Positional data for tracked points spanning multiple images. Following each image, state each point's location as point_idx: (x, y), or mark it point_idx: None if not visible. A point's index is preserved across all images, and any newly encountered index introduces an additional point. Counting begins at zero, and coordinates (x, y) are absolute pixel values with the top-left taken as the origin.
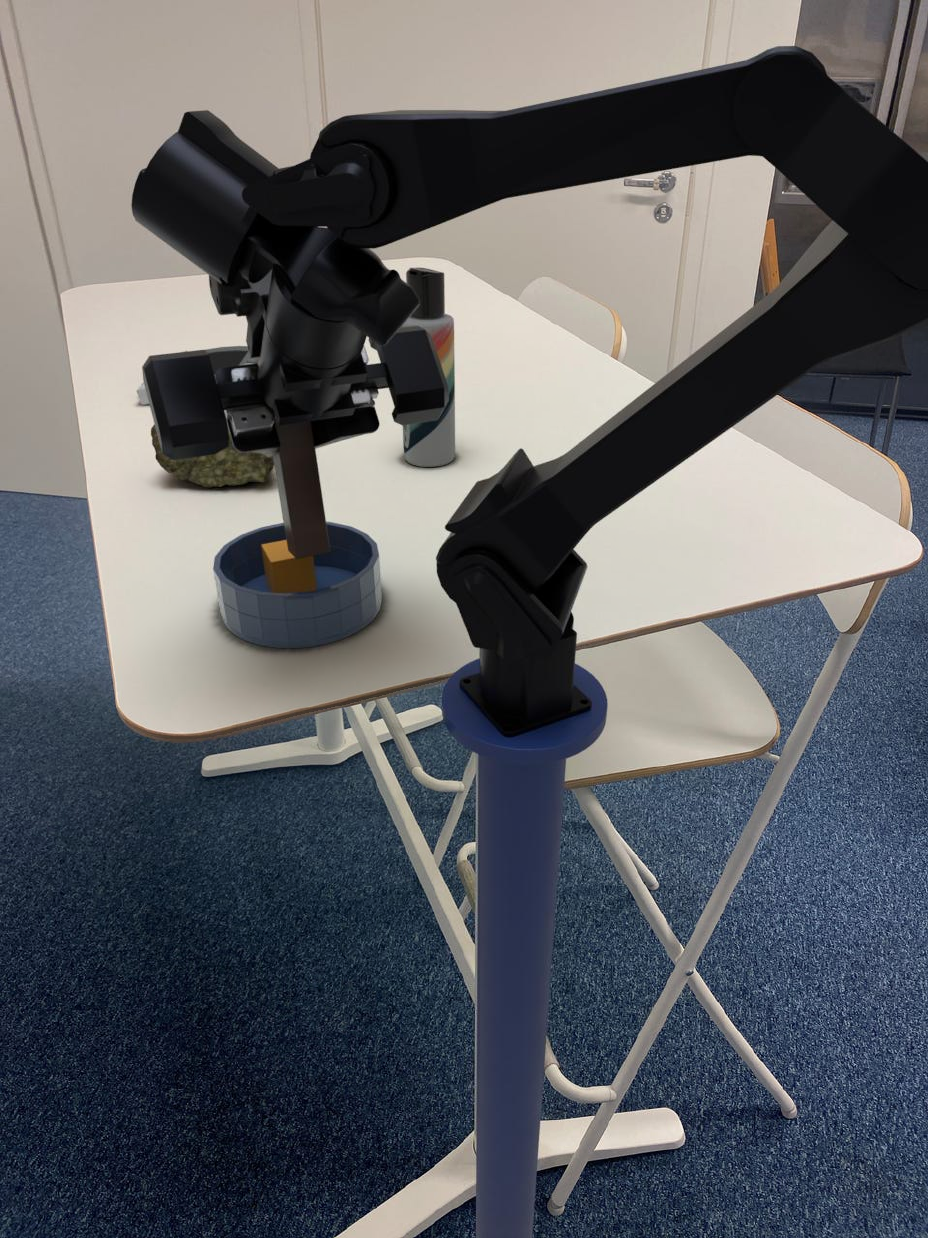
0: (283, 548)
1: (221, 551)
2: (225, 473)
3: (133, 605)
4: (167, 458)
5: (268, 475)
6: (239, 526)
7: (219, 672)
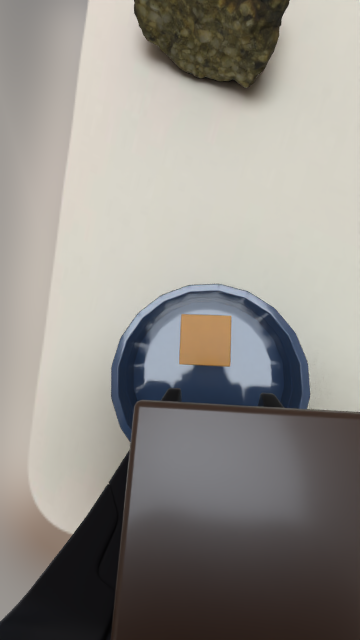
0: (202, 336)
1: (130, 328)
2: (207, 64)
3: (64, 300)
4: (145, 20)
5: (256, 76)
6: (195, 177)
7: (104, 454)
